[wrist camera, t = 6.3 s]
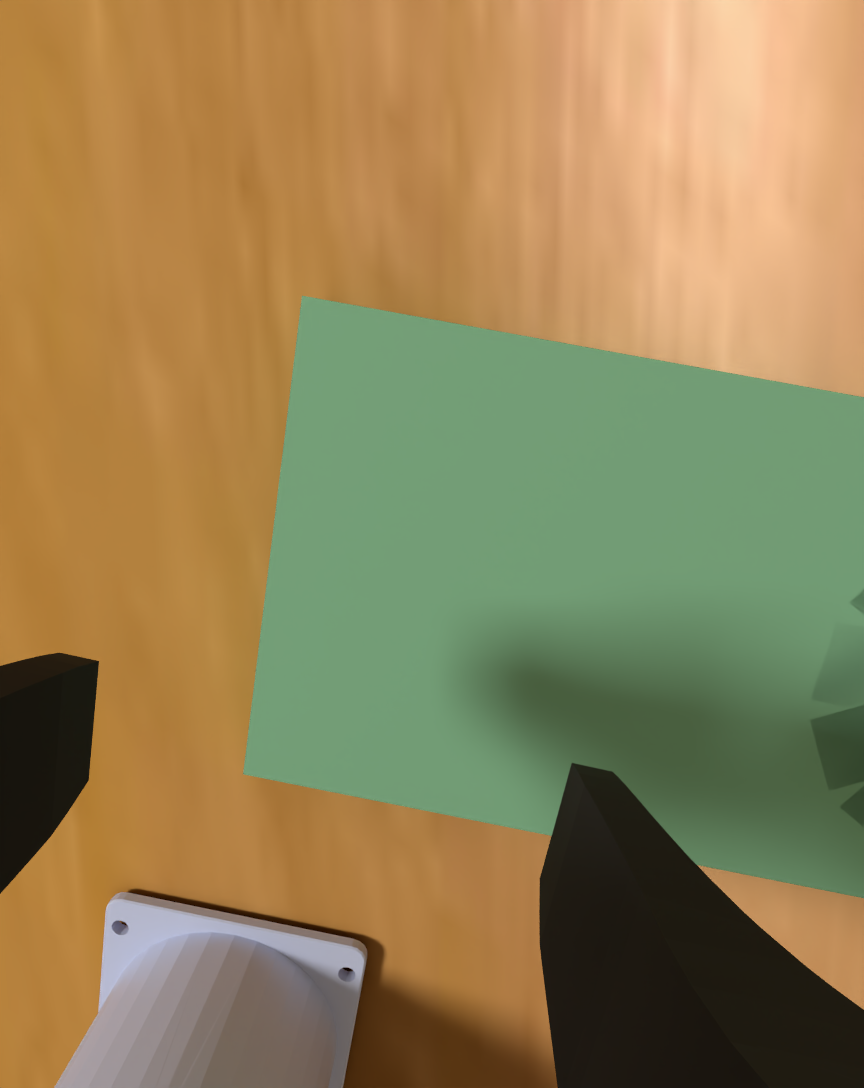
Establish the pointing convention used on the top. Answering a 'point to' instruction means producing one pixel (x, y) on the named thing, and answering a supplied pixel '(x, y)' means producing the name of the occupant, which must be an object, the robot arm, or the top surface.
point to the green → (568, 590)
